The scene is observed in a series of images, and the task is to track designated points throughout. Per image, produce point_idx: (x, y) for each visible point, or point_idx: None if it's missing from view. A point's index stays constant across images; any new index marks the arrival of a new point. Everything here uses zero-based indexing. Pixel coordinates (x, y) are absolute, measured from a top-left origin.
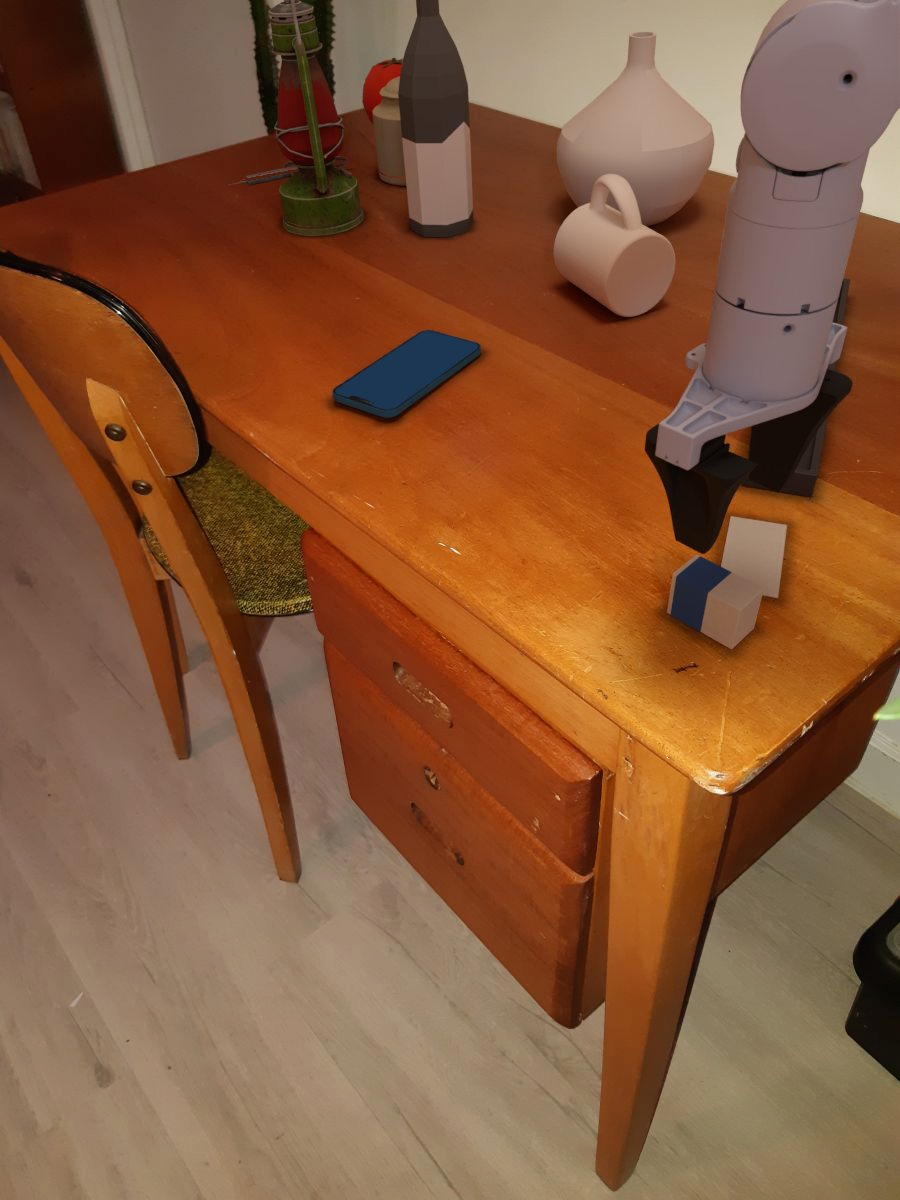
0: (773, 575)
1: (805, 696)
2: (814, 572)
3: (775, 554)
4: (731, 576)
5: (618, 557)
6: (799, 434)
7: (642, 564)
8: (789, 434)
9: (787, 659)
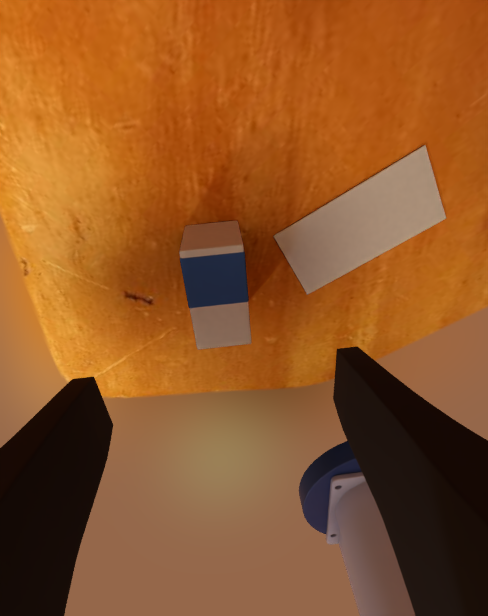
0: (339, 268)
1: (208, 381)
2: (375, 292)
3: (377, 246)
4: (240, 307)
5: (219, 76)
6: (399, 543)
7: (236, 123)
8: (398, 517)
9: (234, 349)
